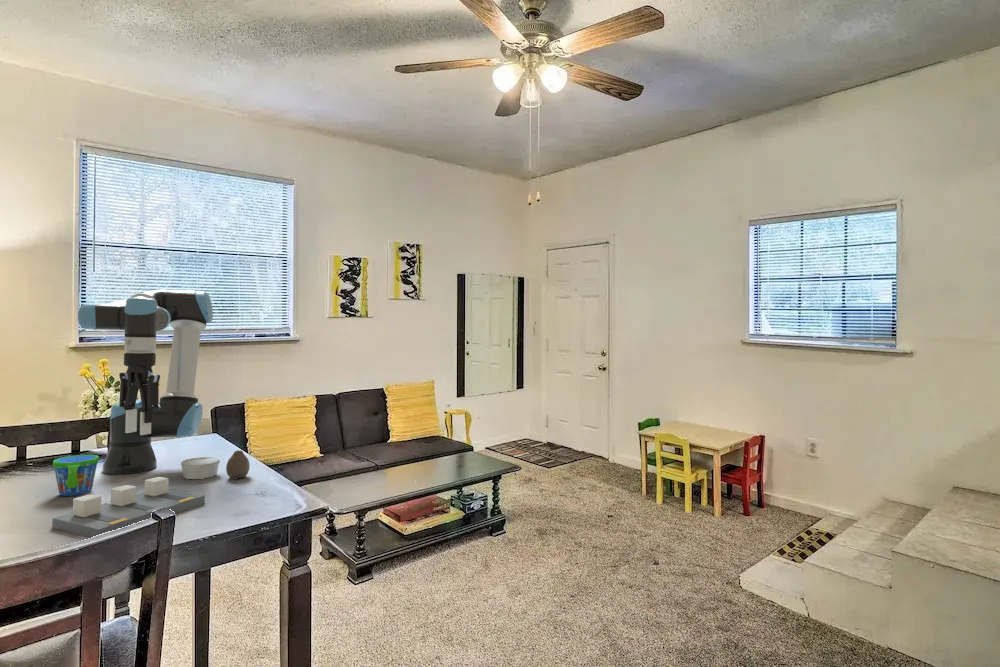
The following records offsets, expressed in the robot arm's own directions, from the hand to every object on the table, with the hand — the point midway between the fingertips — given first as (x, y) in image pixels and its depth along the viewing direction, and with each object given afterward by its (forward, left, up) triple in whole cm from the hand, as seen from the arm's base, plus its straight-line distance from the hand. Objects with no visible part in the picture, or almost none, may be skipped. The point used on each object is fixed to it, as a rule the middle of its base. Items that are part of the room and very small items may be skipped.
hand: (138, 433), depth 151 cm
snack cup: (-20, -4, -19) cm, 28 cm away
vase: (+8, +28, -19) cm, 35 cm away
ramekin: (-4, +24, -19) cm, 31 cm away
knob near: (+8, -18, -16) cm, 26 cm away
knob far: (+8, 0, -16) cm, 18 cm away
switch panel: (+12, -9, -19) cm, 24 cm away
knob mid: (+8, -9, -16) cm, 20 cm away
